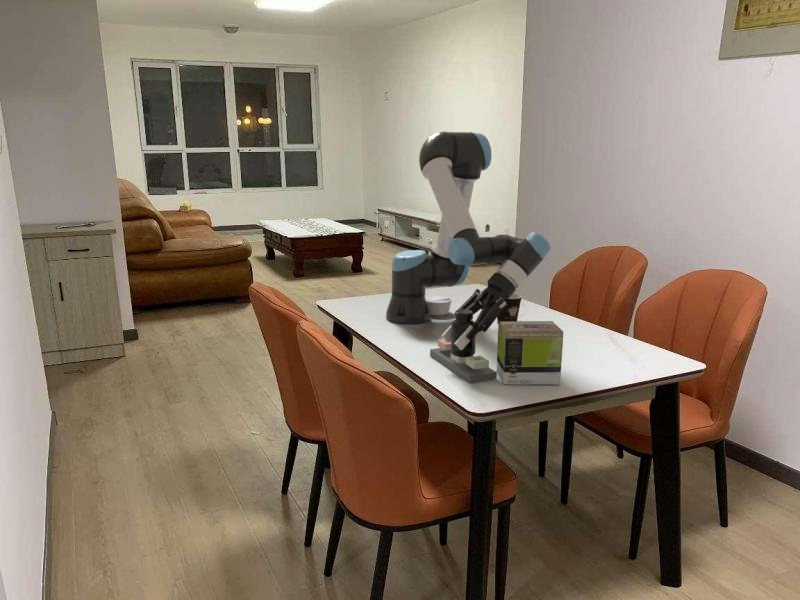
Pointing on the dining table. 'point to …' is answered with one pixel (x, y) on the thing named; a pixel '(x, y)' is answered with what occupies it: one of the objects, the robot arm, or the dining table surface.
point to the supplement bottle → (458, 329)
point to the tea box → (529, 352)
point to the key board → (462, 367)
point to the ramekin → (438, 304)
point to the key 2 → (477, 362)
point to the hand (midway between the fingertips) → (451, 342)
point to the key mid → (458, 359)
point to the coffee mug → (510, 309)
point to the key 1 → (444, 344)
